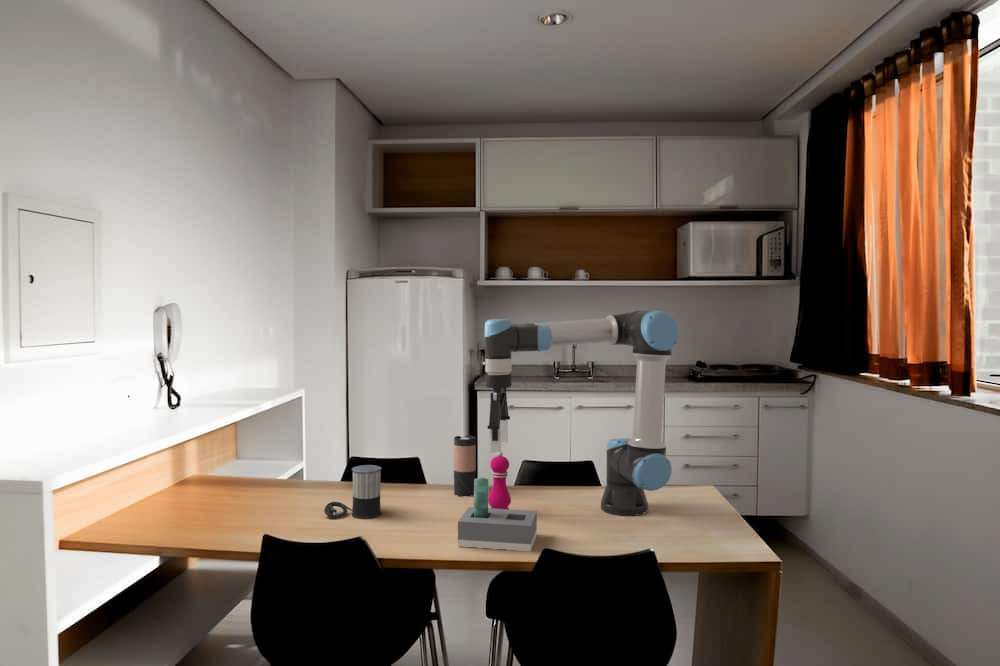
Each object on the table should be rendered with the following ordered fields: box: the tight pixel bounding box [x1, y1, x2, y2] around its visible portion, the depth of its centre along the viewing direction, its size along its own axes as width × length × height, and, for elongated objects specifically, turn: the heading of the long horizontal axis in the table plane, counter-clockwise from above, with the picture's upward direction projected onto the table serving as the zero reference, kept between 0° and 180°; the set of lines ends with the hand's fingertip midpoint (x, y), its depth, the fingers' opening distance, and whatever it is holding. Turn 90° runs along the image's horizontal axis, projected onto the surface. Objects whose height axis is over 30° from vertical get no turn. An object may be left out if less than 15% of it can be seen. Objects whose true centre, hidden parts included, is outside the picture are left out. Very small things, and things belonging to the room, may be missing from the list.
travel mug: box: [453, 435, 477, 497], centre depth 244 cm, size 8×8×20 cm
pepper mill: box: [488, 451, 512, 509], centre depth 221 cm, size 7×7×20 cm
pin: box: [473, 477, 489, 518], centre depth 197 cm, size 4×4×15 cm
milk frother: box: [323, 464, 383, 520], centre depth 219 cm, size 14×16×15 cm
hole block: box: [457, 506, 538, 553], centre depth 196 cm, size 20×14×7 cm
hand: (499, 447), depth 201 cm, fingers open, 13 cm apart
